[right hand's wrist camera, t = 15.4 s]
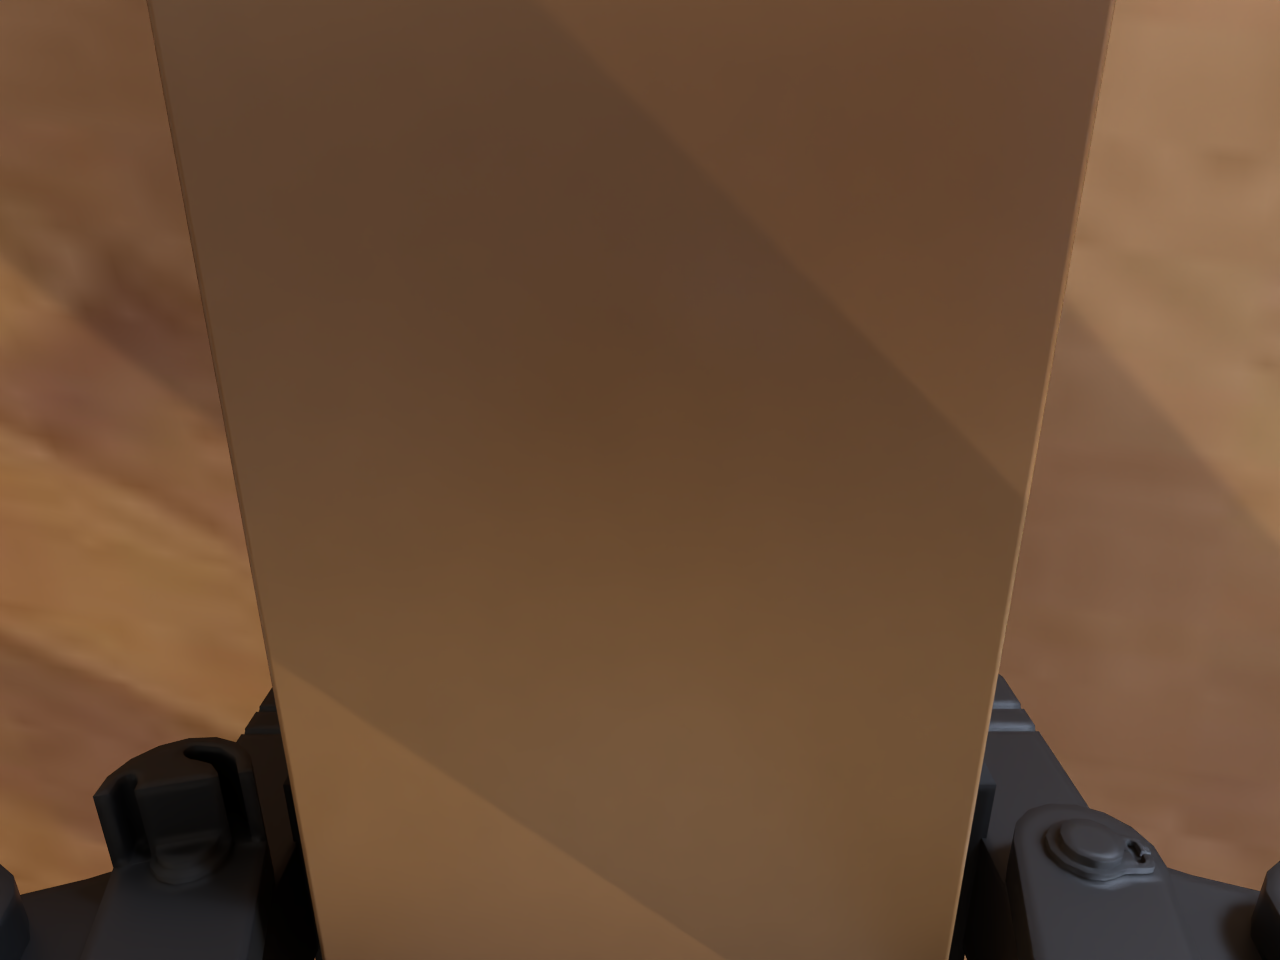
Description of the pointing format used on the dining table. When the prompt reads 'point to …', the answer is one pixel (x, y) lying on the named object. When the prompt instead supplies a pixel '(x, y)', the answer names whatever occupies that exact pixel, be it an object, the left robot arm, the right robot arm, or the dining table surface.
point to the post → (633, 445)
